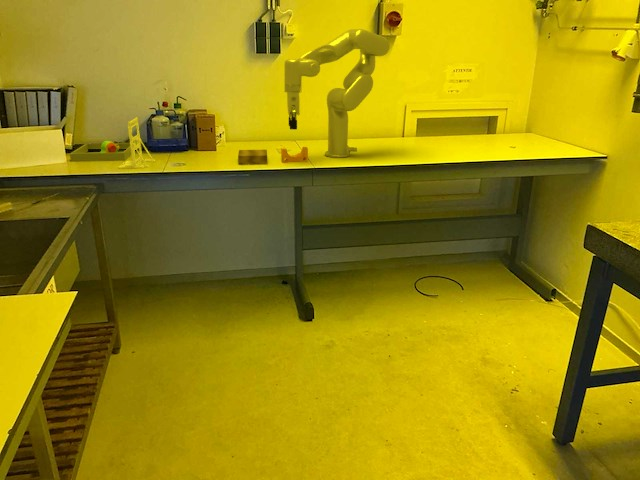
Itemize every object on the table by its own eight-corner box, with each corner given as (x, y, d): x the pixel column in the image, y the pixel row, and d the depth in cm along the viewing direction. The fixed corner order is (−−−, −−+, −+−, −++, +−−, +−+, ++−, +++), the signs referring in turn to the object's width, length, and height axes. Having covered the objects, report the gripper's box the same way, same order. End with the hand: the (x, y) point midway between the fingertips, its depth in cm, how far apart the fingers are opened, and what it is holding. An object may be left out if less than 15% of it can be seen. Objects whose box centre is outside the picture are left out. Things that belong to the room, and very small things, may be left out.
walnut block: (267, 157, 246) (266, 149, 245) (267, 164, 234) (267, 155, 233) (239, 158, 245) (239, 149, 243) (238, 164, 233) (238, 155, 231)
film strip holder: (125, 161, 237) (119, 117, 230) (155, 161, 238) (150, 117, 231) (115, 168, 224) (109, 122, 217) (148, 168, 225) (142, 122, 218)
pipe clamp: (305, 159, 244) (305, 146, 242) (307, 161, 240) (307, 147, 238) (280, 161, 241) (280, 147, 239) (282, 163, 237) (282, 149, 235)
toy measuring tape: (124, 153, 254) (122, 139, 252) (90, 160, 239) (88, 146, 236) (115, 151, 257) (113, 138, 255) (81, 158, 241) (79, 144, 239)
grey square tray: (136, 149, 261) (135, 142, 260) (125, 160, 239) (124, 152, 237) (87, 150, 258) (86, 143, 257) (71, 161, 236) (69, 153, 235)
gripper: (302, 90, 222) (302, 130, 228) (299, 87, 238) (299, 124, 244) (285, 90, 221) (285, 130, 227) (283, 86, 237) (283, 124, 243)
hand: (292, 127), depth 235 cm, fingers open, 9 cm apart
